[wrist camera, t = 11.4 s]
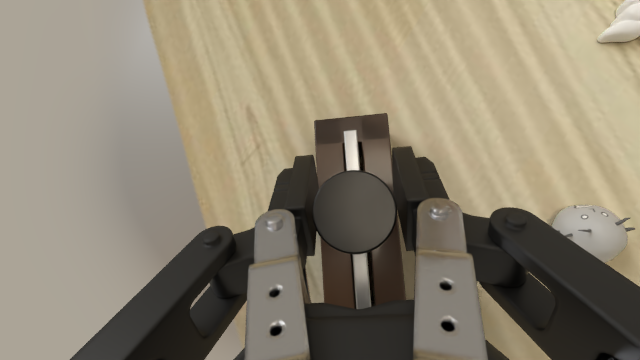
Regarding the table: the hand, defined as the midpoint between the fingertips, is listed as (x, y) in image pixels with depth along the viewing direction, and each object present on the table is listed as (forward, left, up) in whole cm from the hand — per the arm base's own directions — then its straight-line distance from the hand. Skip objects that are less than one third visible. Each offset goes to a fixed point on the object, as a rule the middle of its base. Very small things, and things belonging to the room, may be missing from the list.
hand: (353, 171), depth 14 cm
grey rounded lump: (+10, +8, -7) cm, 14 cm away
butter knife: (+2, -1, -6) cm, 7 cm away
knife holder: (+2, -1, -6) cm, 7 cm away
